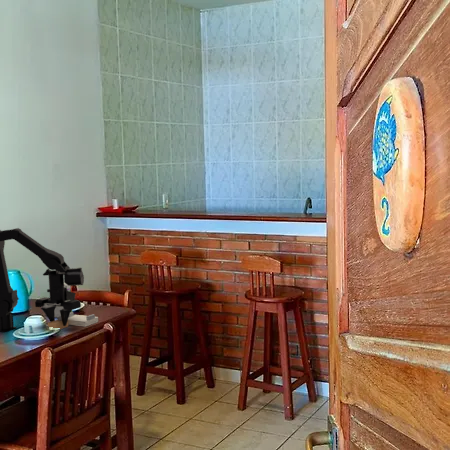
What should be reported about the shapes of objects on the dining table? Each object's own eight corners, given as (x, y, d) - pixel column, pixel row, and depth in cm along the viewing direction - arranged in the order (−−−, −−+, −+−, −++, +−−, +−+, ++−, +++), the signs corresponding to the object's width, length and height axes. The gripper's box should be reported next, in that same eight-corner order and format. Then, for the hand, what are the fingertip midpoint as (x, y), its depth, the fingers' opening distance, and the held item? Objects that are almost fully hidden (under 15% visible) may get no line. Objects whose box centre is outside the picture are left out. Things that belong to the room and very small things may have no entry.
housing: (56, 331, 241) (55, 320, 241) (48, 330, 243) (47, 319, 243) (68, 326, 248) (67, 316, 247) (60, 326, 250) (59, 315, 249)
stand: (85, 326, 246) (85, 317, 246) (62, 324, 252) (61, 315, 251) (98, 321, 253) (97, 313, 253) (75, 319, 259) (74, 311, 259)
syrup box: (66, 317, 262) (64, 283, 261) (53, 317, 263) (51, 283, 262) (72, 314, 268) (70, 281, 266) (60, 314, 269) (58, 281, 268)
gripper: (88, 283, 247) (91, 322, 249) (52, 281, 256) (55, 318, 257) (69, 288, 237) (72, 329, 239) (33, 286, 246) (35, 325, 247)
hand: (59, 325), depth 246 cm, fingers open, 6 cm apart
